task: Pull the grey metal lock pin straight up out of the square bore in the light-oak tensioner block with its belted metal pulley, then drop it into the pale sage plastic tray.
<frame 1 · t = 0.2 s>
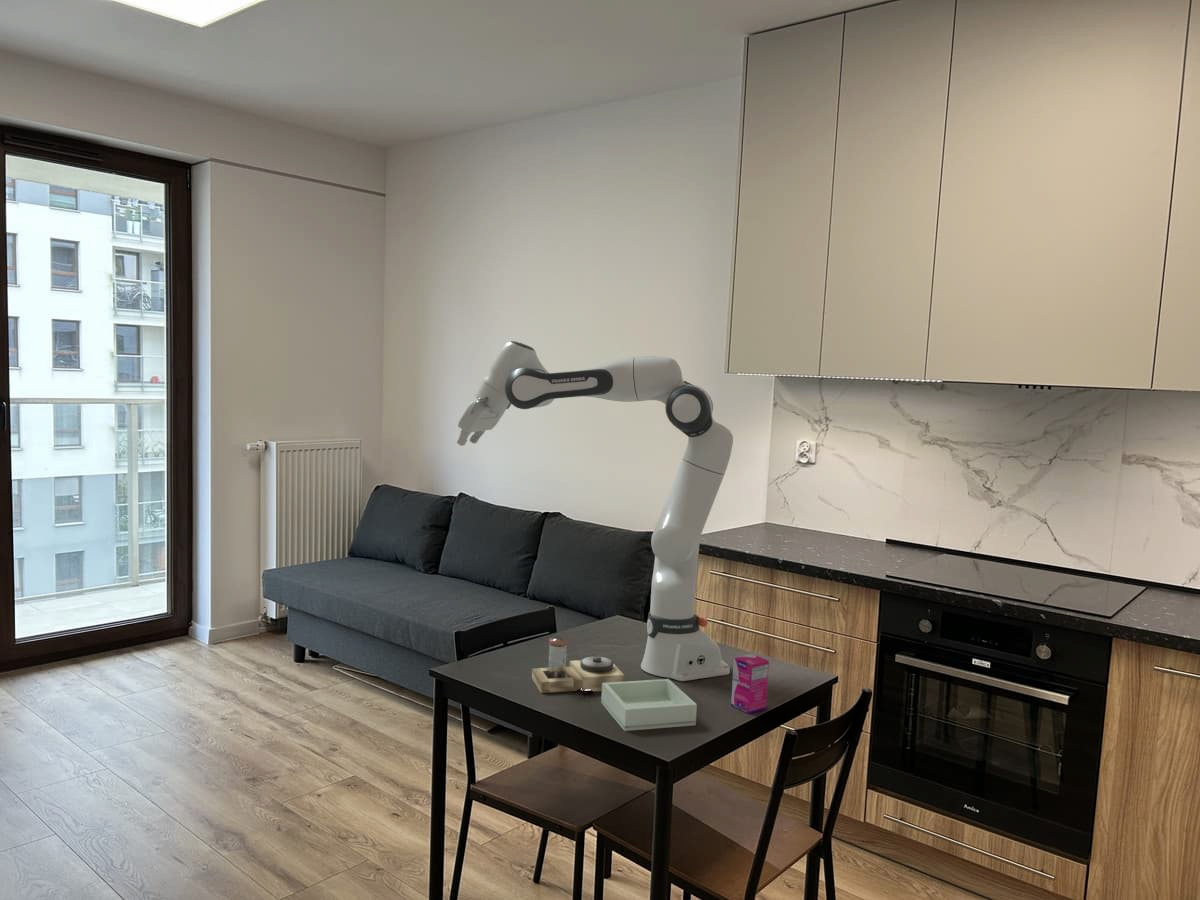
hand: (466, 443, 226), 54 cm above the table, tool tilted 30°, fingers open, 8 cm apart
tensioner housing: (556, 684, 205), on the table
tray: (647, 713, 190), on the table
lock pin: (556, 684, 205), resting in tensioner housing
supplement box: (748, 708, 196), on the table
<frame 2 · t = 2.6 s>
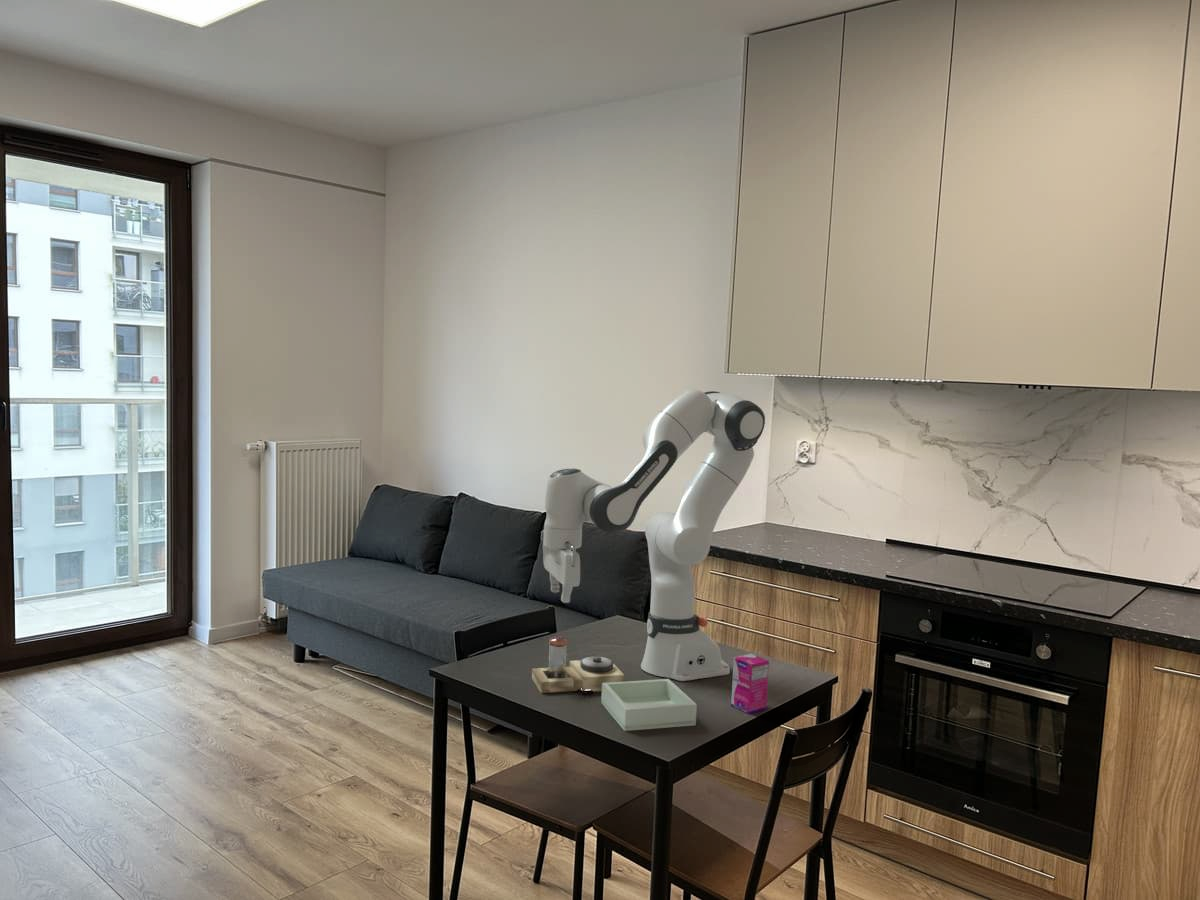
hand: (560, 596, 204), 21 cm above the table, tool pointing down, fingers open, 8 cm apart
nothing on the table moved.
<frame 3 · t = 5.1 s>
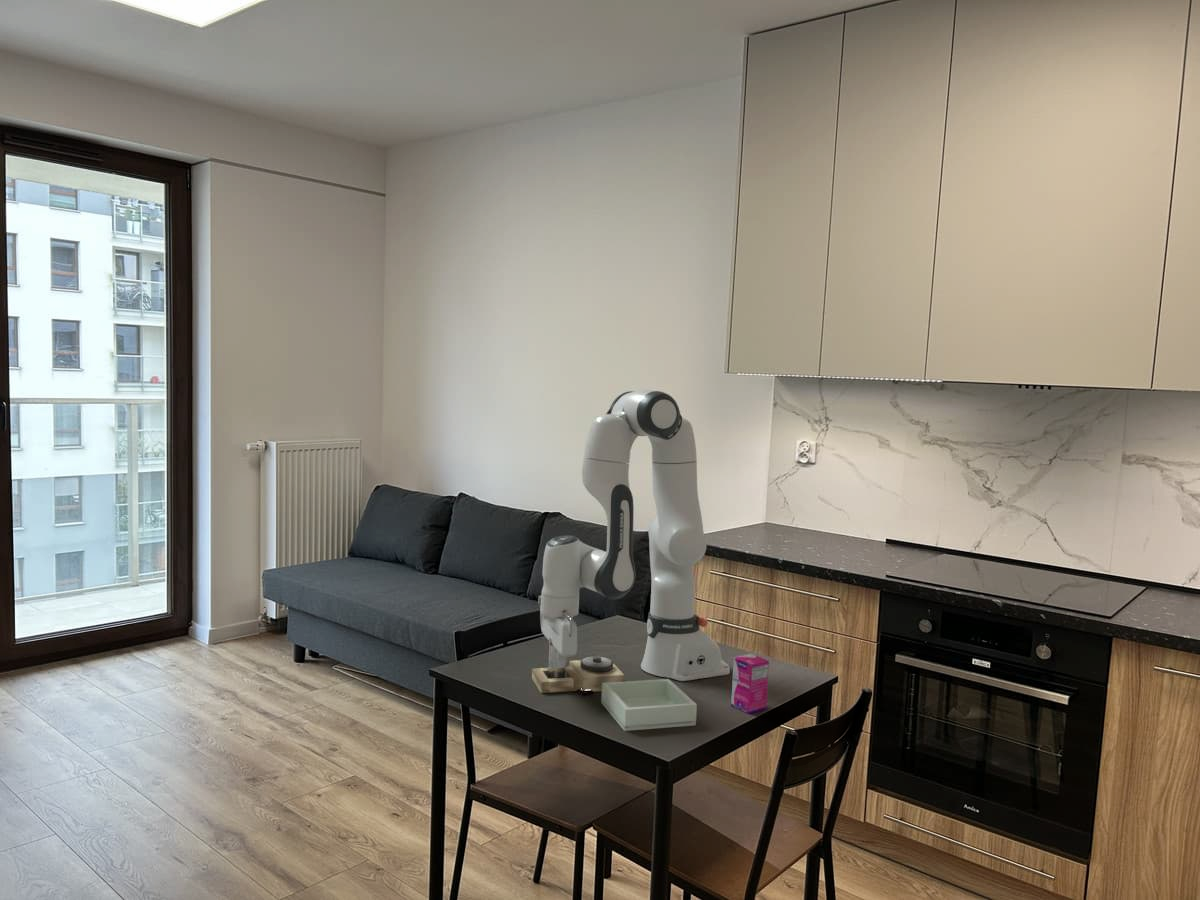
hand: (557, 663, 205), 5 cm above the table, tool pointing down, fingers closed on lock pin, 4 cm apart
lock pin: (556, 684, 205), resting in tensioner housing, touching gripper
everything else where it was.
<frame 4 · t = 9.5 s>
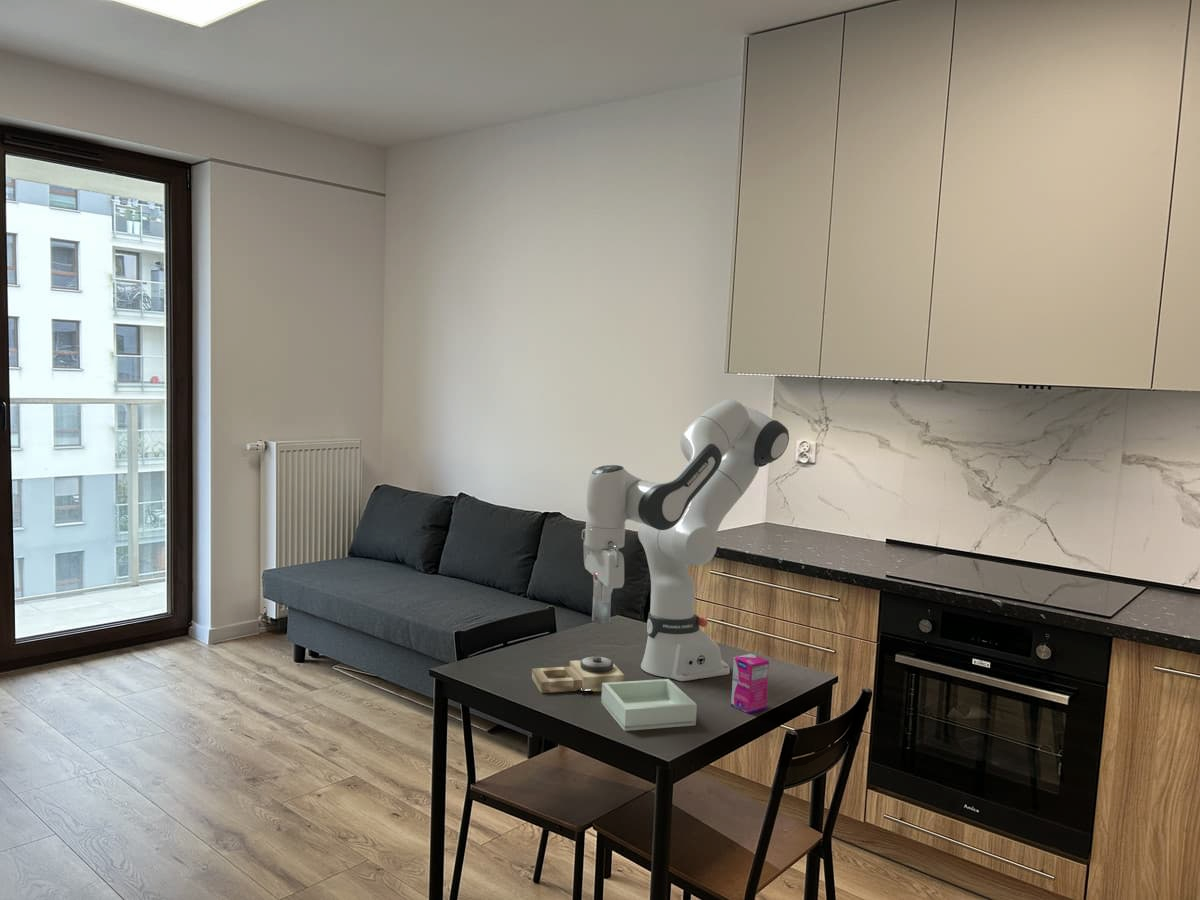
hand: (602, 598, 196), 23 cm above the table, tool pointing down, fingers closed on lock pin, 4 cm apart
lock pin: (600, 620, 197), point 18 cm above the table, touching gripper
everything else where it was.
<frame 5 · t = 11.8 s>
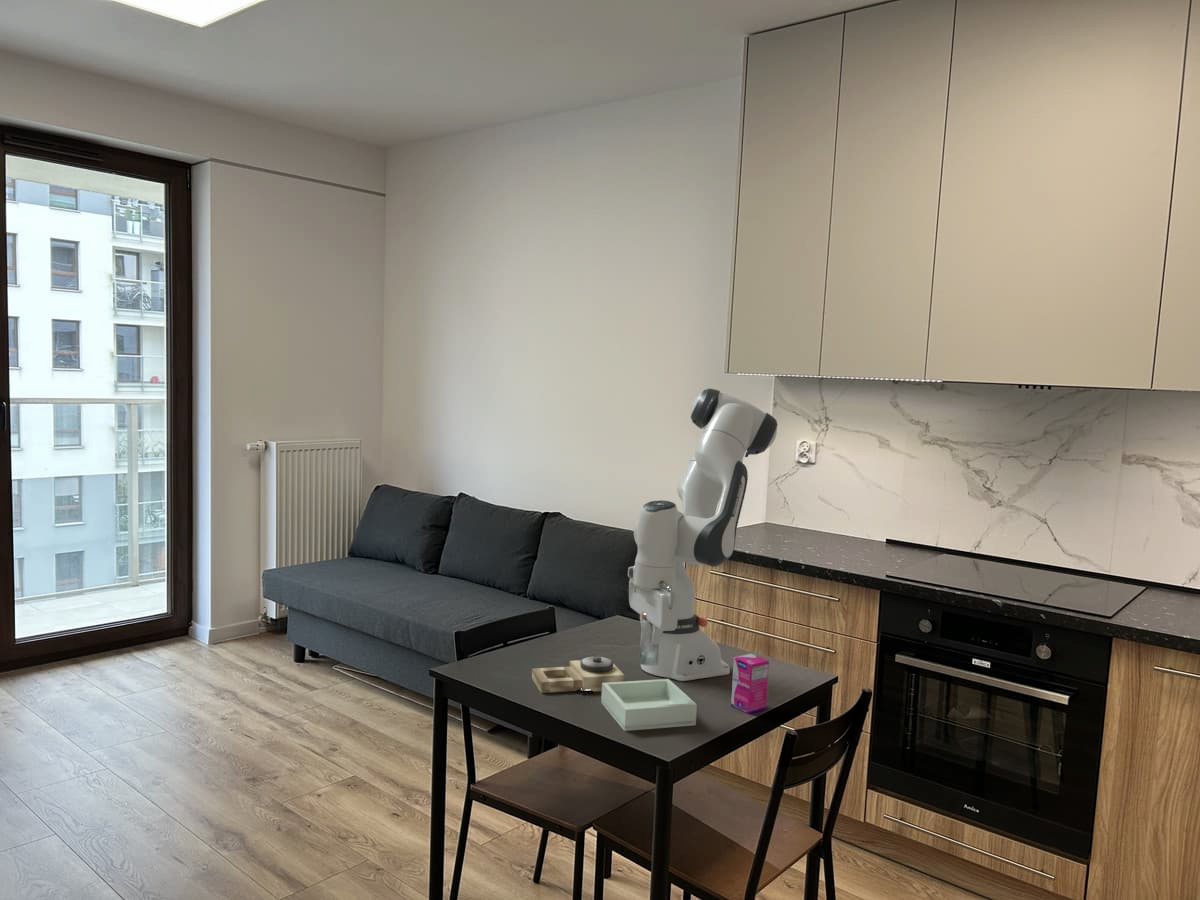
hand: (650, 639, 189), 17 cm above the table, tool pointing down, fingers closed on lock pin, 4 cm apart
lock pin: (648, 662, 189), point 11 cm above the table, touching gripper
everything else where it was.
when the fingers open (8 cm above the table, at t = 13.8 s): lock pin drops 1 cm, resting on tray.
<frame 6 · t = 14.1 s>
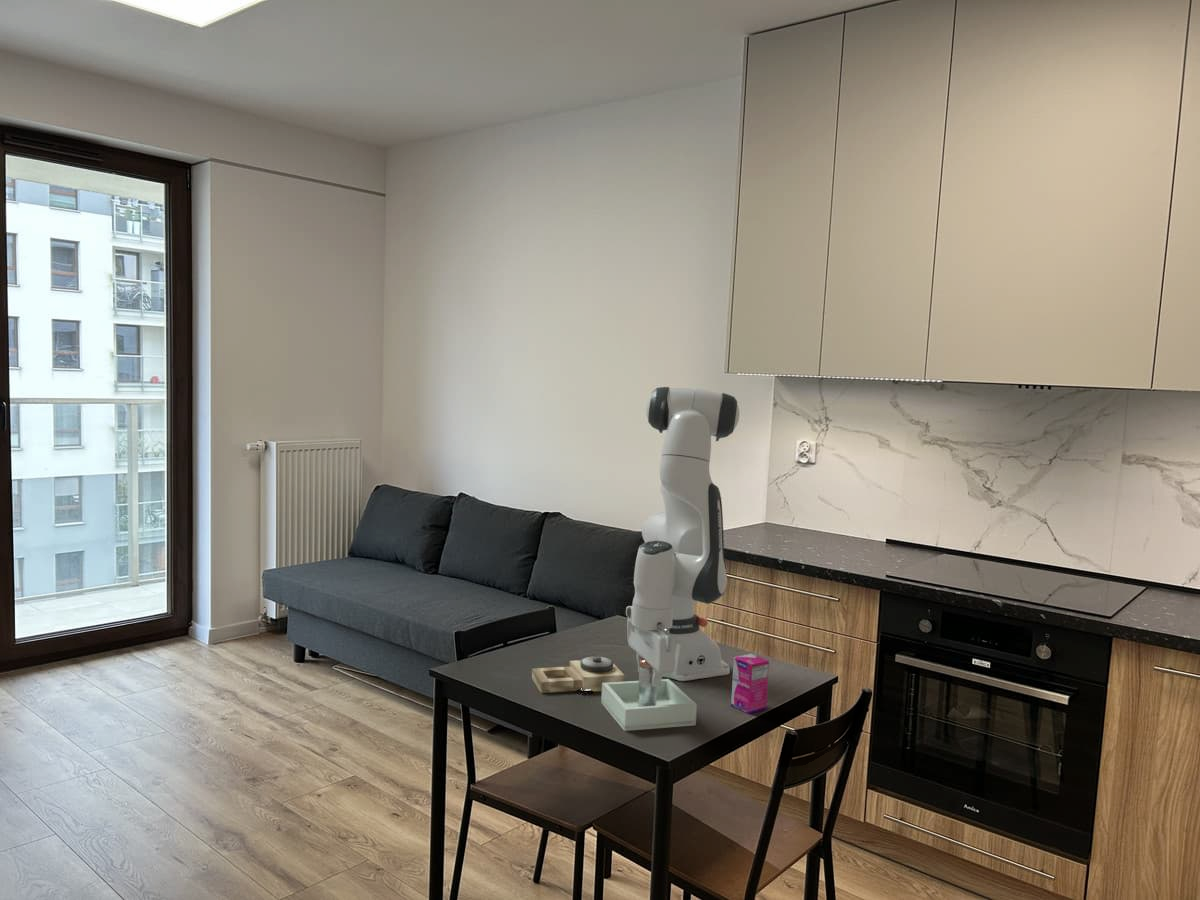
hand: (649, 679, 189), 8 cm above the table, tool pointing down, fingers open, 7 cm apart
lock pin: (646, 708, 190), point 1 cm above the table, touching tray
everything else where it was.
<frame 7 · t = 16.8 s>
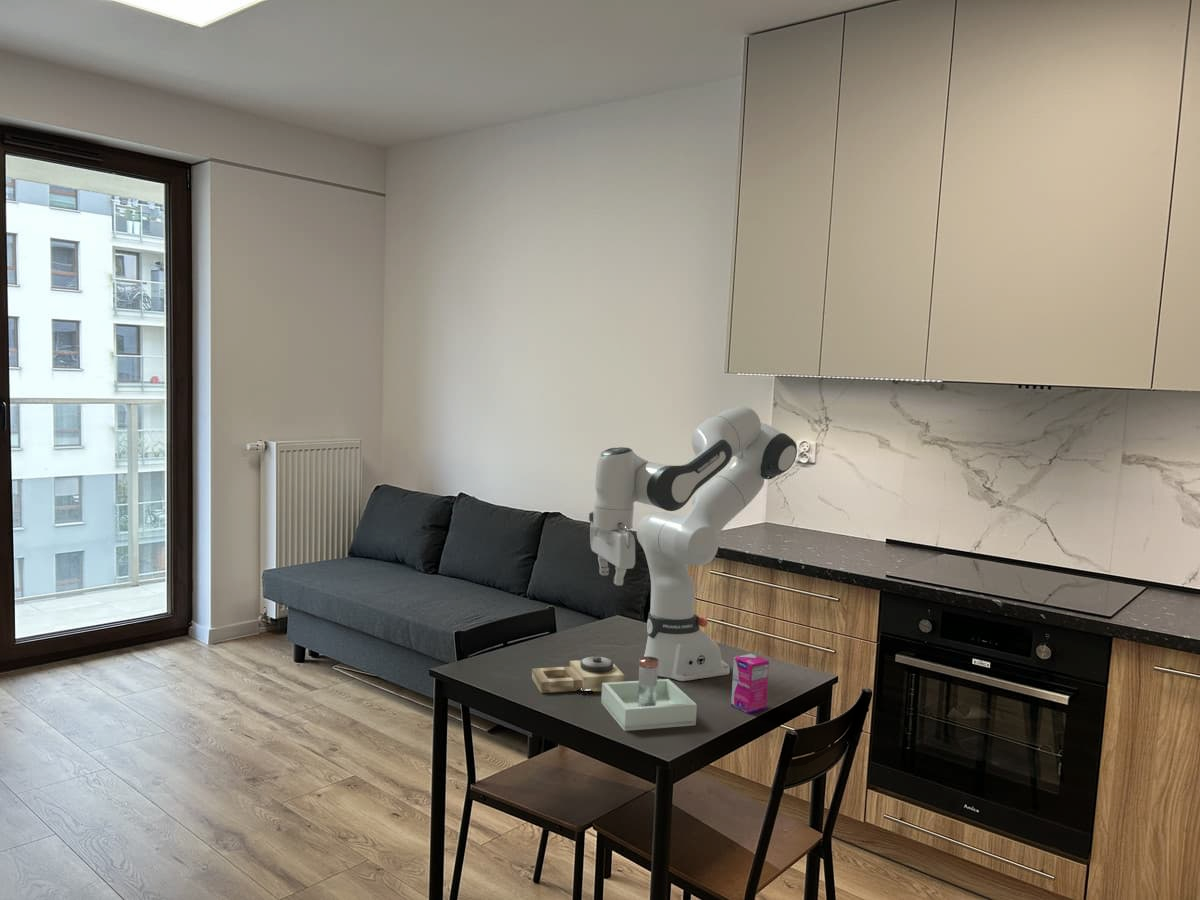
hand: (611, 579, 198), 27 cm above the table, tool pointing down, fingers open, 8 cm apart
nothing on the table moved.
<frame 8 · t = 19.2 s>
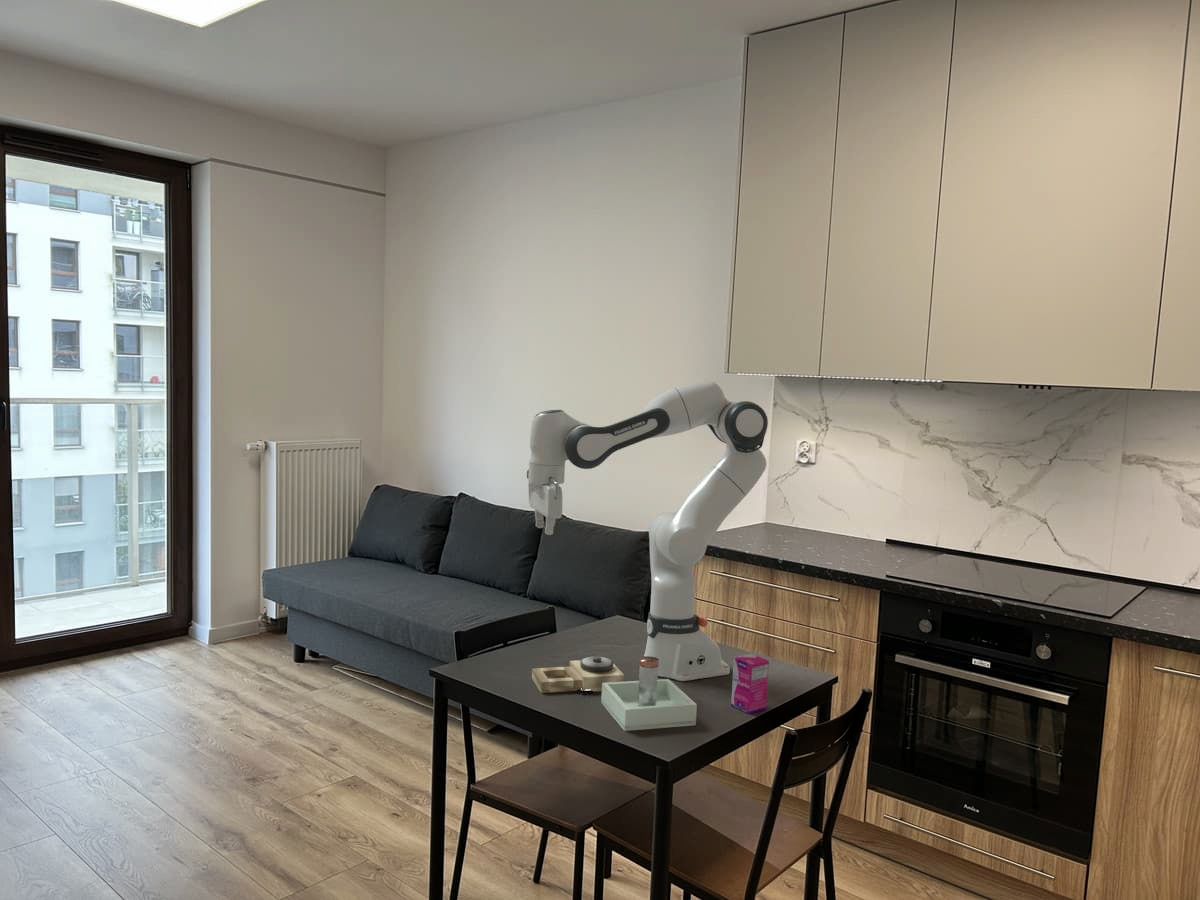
hand: (544, 530, 216), 34 cm above the table, tool pointing down, fingers open, 8 cm apart
nothing on the table moved.
at the end: lock pin inside the target area on the tray (0.1 cm from its centre), point 1.0 cm above the tray's base; the gripper is holding nothing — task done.
